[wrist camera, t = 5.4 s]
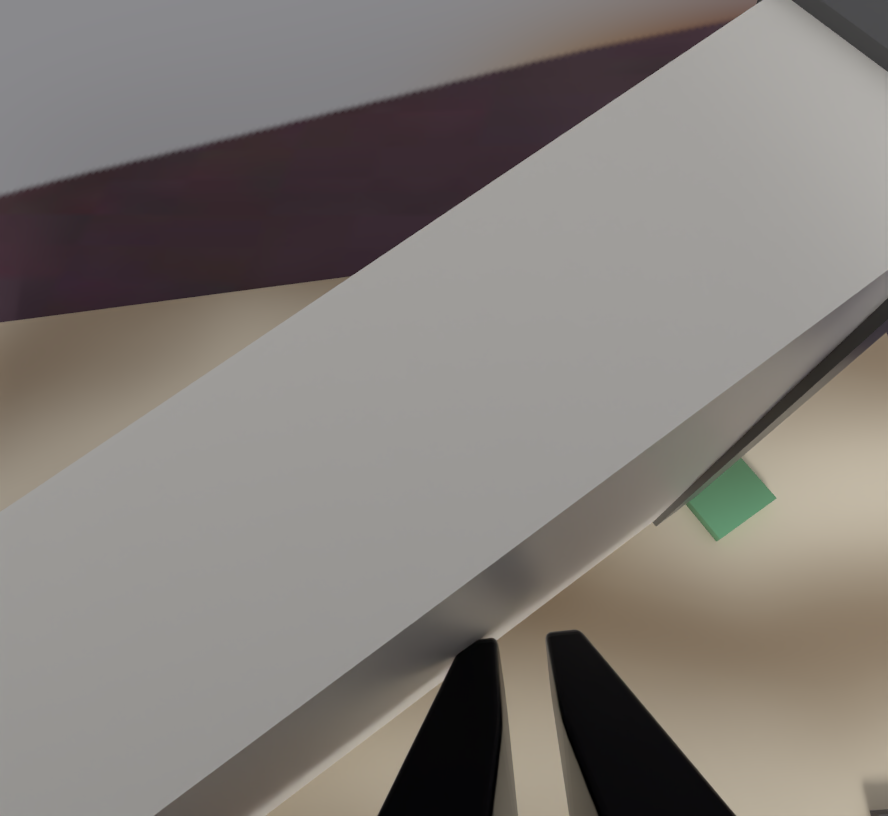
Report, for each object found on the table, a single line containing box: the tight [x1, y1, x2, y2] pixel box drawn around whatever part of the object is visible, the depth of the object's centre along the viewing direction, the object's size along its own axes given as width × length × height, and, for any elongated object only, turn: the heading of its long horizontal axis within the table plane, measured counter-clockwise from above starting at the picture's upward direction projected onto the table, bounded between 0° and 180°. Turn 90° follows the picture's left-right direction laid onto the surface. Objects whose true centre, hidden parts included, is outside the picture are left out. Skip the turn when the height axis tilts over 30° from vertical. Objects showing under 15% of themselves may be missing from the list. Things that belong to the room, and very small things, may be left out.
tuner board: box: [0, 276, 888, 816], centre depth 14 cm, size 16×21×2 cm
